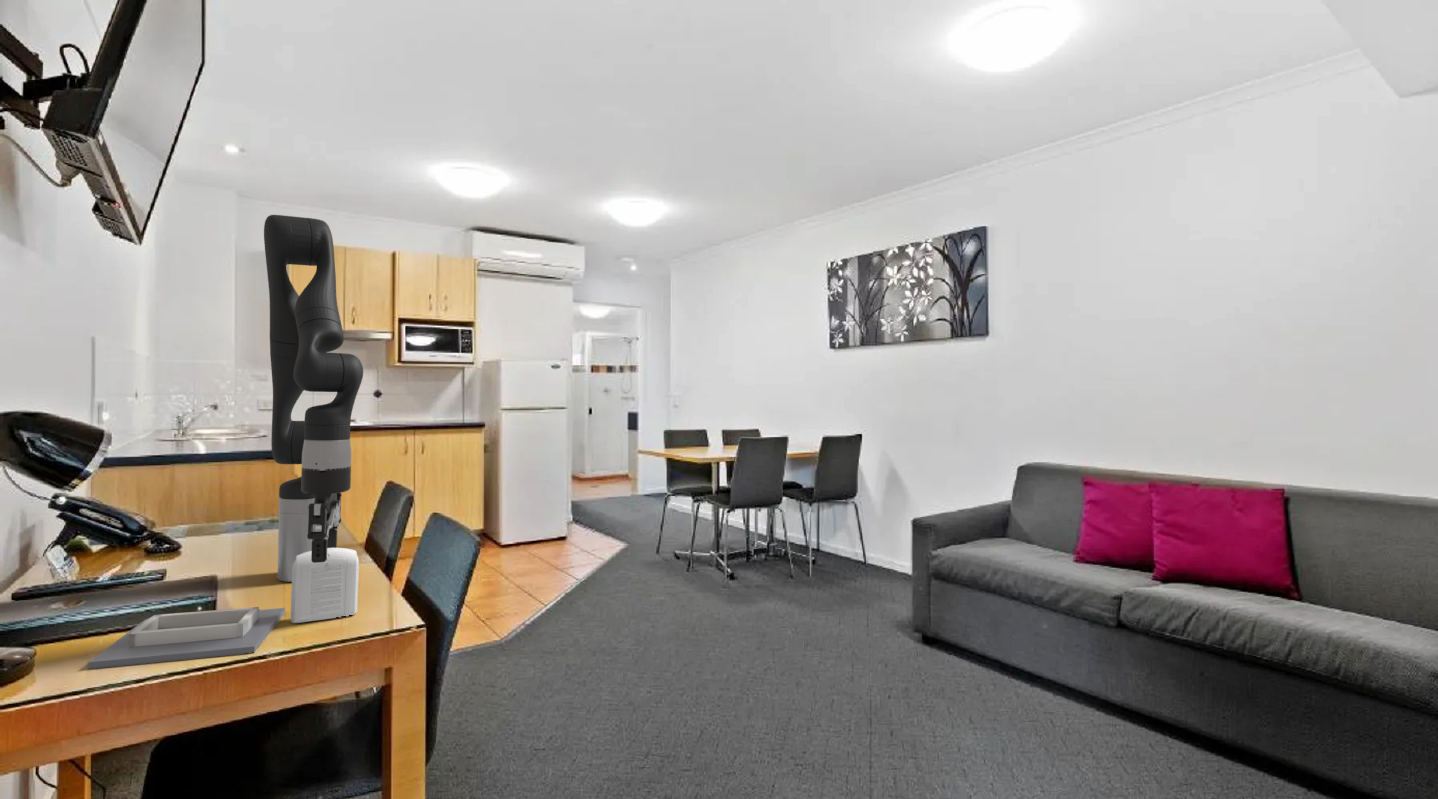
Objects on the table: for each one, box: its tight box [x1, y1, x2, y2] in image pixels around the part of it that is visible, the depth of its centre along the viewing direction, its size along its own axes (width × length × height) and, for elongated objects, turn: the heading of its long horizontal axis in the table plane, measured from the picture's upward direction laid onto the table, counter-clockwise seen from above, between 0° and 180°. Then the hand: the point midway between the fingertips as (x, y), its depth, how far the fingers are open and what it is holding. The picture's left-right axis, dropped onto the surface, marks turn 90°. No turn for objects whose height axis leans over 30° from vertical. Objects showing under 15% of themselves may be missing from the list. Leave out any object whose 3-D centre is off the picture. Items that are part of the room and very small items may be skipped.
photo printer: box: [290, 547, 360, 624], centre depth 116 cm, size 10×4×12 cm, turn 124°
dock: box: [87, 606, 286, 670], centre depth 105 cm, size 18×20×3 cm
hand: (324, 555), depth 115 cm, fingers open, 8 cm apart
